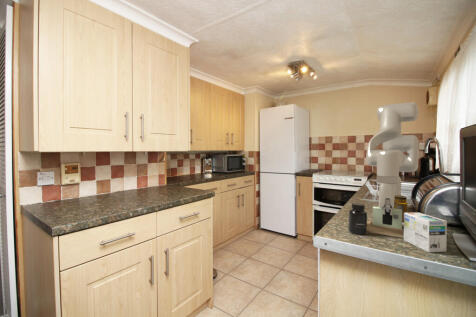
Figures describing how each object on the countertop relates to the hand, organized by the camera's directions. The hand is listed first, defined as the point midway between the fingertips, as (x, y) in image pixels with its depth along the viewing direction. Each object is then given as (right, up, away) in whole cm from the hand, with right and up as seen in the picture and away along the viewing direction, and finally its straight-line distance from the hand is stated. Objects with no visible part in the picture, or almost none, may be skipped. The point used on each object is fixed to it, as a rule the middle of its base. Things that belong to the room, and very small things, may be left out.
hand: (386, 221), depth 92 cm
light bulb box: (+5, -6, -13) cm, 15 cm away
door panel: (0, -4, 0) cm, 4 cm away
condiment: (+16, -4, +15) cm, 22 cm away
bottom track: (0, -5, 0) cm, 5 cm away
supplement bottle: (-12, -5, 0) cm, 13 cm away
